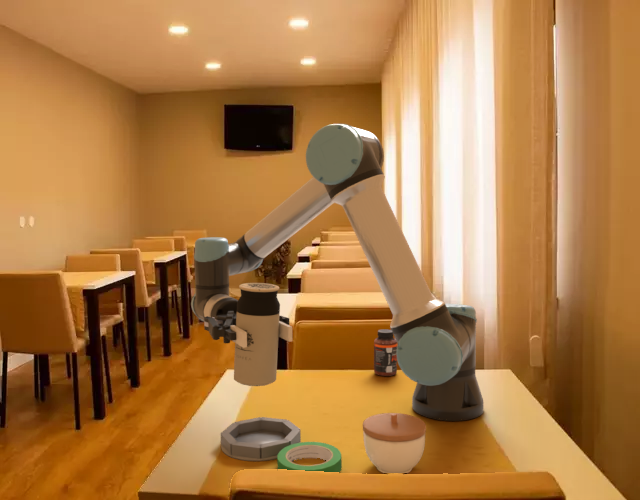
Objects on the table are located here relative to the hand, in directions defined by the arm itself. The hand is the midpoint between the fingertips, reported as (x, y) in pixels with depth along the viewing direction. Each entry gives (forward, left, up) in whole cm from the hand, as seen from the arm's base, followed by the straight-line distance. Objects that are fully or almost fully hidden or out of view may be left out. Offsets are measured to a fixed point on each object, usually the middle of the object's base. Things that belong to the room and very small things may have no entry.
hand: (268, 337), depth 110 cm
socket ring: (+3, -3, -22) cm, 22 cm away
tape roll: (-9, +4, -22) cm, 24 cm away
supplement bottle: (-11, -53, -22) cm, 58 cm away
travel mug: (+4, -4, -10) cm, 11 cm away
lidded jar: (-23, 0, -22) cm, 31 cm away
